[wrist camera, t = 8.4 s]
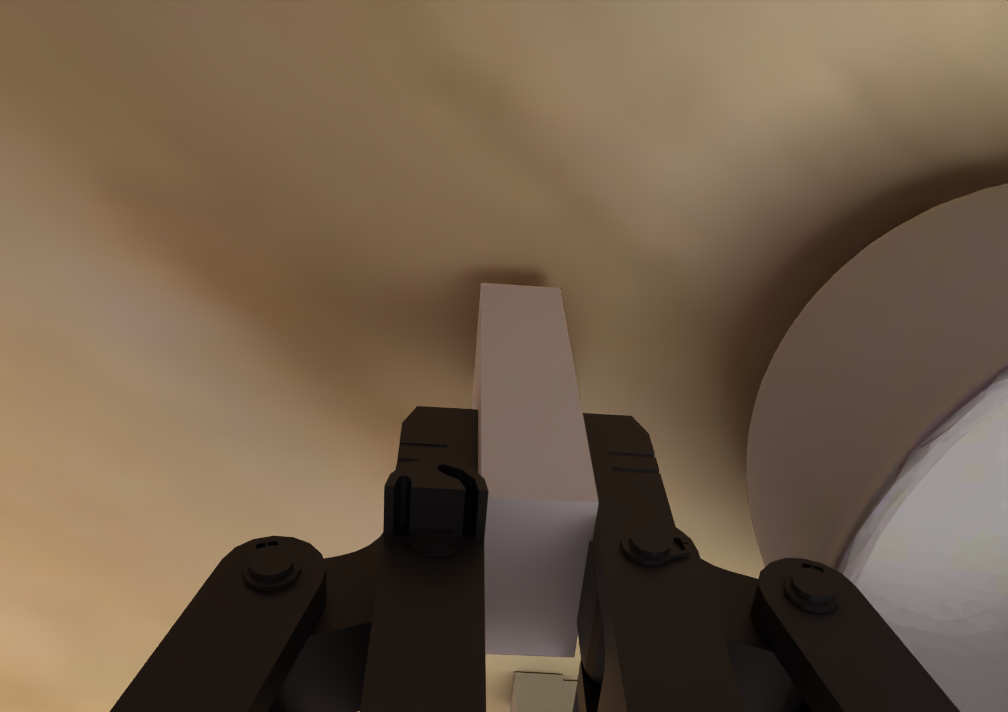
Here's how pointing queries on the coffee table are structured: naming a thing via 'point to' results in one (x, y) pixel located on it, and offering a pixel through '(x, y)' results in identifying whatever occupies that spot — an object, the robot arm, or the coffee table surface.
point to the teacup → (902, 440)
